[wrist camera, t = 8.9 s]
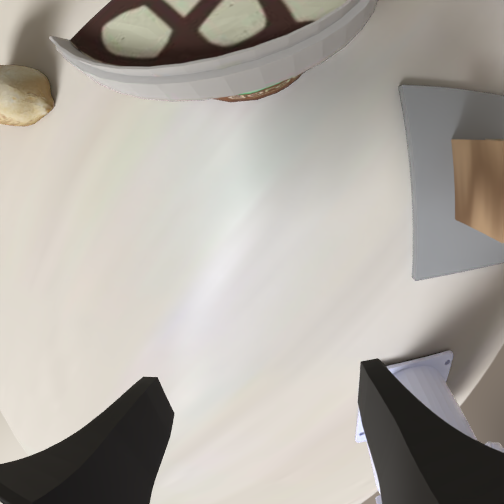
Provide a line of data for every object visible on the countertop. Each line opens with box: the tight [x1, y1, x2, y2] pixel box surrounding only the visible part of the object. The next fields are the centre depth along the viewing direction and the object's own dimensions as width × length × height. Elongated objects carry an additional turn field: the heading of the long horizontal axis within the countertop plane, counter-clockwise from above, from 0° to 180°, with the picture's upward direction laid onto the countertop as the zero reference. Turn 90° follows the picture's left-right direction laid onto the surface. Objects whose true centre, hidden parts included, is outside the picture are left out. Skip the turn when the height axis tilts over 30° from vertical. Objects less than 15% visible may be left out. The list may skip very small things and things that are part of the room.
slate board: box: [399, 85, 504, 281], centre depth 15 cm, size 12×11×1 cm
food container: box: [49, 0, 378, 102], centre depth 10 cm, size 12×6×10 cm, turn 128°
